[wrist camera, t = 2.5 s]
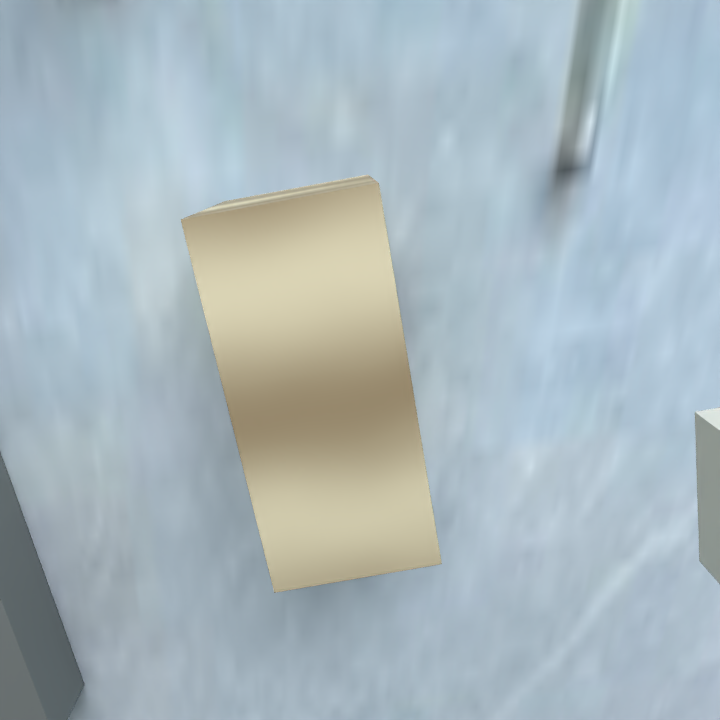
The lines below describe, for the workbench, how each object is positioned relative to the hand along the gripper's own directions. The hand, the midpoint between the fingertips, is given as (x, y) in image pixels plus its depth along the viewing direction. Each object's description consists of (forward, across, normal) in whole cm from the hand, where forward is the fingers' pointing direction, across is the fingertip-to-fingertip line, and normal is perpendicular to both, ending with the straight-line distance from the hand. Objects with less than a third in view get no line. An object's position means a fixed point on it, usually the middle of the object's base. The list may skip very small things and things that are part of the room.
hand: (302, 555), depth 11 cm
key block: (+15, 0, 0) cm, 15 cm away
